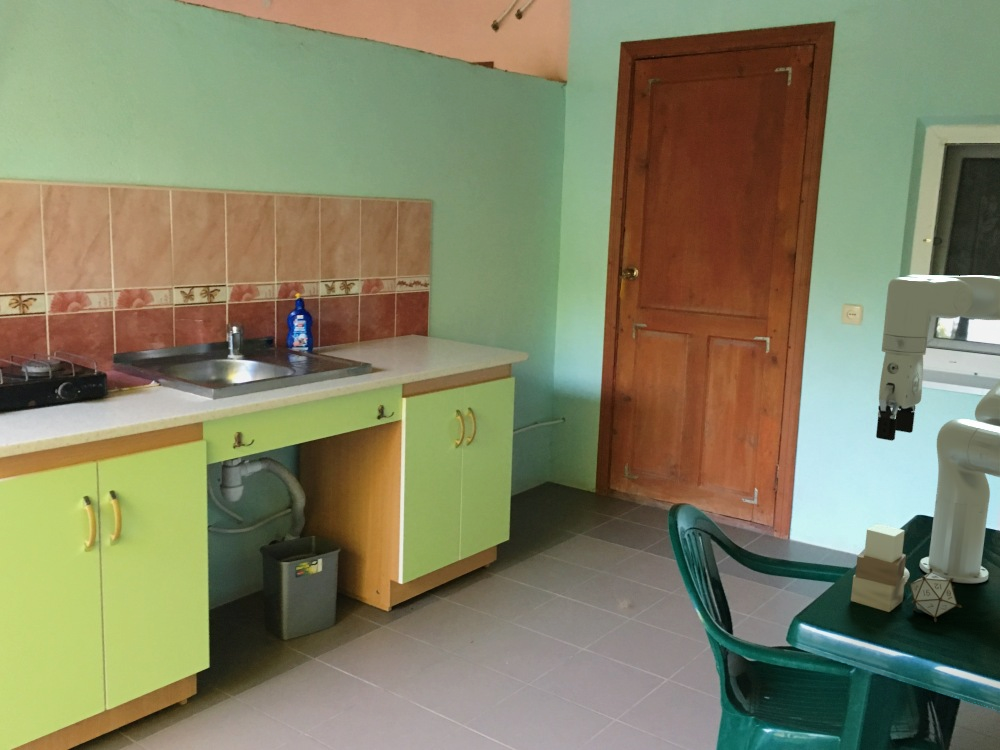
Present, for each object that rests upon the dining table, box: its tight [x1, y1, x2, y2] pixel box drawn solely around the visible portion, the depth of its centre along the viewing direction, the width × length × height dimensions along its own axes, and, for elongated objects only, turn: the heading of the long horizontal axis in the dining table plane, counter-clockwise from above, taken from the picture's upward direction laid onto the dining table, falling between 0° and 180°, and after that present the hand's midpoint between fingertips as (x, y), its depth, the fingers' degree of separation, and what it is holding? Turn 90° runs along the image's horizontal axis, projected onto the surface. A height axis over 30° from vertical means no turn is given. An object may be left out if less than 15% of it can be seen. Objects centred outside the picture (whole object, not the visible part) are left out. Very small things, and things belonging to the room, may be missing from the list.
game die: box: [905, 568, 962, 623], centre depth 167 cm, size 9×8×10 cm
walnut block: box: [854, 548, 907, 586], centre depth 172 cm, size 7×7×4 cm
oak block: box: [850, 574, 906, 613], centre depth 173 cm, size 7×7×5 cm
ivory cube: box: [864, 523, 906, 563], centre depth 171 cm, size 5×5×5 cm
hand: (894, 435), depth 174 cm, fingers open, 9 cm apart
